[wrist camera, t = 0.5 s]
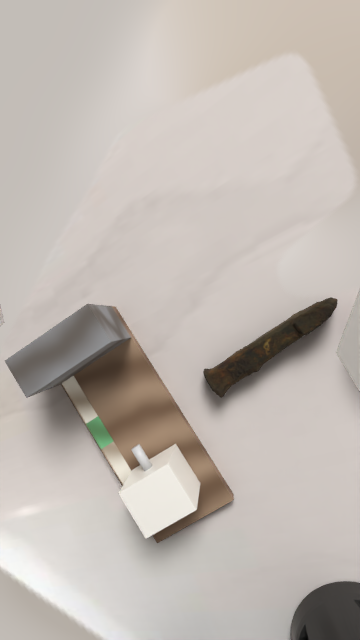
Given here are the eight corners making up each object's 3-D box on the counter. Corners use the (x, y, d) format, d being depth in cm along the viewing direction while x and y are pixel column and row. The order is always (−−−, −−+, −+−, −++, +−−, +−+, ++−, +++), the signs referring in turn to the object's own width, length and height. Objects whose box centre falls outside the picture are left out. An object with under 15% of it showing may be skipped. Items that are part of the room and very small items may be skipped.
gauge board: (233, 493, 44) (235, 541, 35) (159, 535, 46) (142, 592, 36) (115, 306, 46) (87, 303, 37) (48, 352, 48) (4, 360, 38)
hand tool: (218, 394, 45) (218, 403, 40) (202, 369, 45) (200, 375, 40) (342, 318, 43) (357, 318, 38) (325, 292, 43) (337, 289, 38)
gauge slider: (200, 483, 43) (196, 509, 37) (140, 518, 44) (127, 549, 38) (163, 423, 44) (153, 440, 38) (105, 459, 45) (86, 481, 39)
